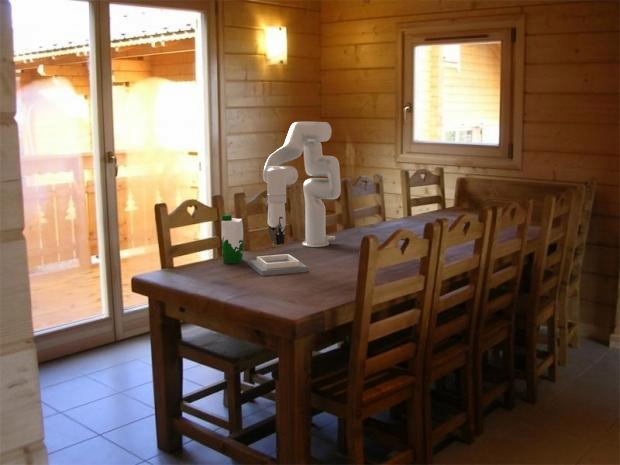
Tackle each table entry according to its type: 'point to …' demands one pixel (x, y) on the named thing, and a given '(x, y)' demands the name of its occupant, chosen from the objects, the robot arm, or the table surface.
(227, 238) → the milk carton
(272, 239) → the cup
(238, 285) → the table surface
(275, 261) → the stand
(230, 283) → the table surface
